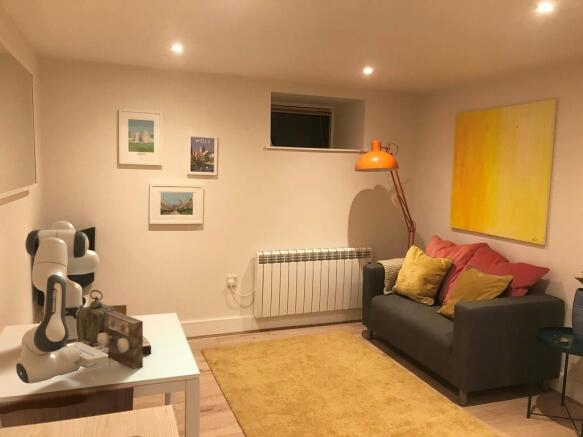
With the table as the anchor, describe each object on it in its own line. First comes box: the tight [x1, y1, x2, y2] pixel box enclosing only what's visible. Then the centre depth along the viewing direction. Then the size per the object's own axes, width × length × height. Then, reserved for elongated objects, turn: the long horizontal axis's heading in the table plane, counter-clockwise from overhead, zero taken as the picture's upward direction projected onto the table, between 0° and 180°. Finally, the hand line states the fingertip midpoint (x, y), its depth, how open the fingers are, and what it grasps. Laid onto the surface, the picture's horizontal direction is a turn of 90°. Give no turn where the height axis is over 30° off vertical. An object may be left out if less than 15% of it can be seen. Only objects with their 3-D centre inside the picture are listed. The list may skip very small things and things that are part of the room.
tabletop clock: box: [76, 289, 116, 347], centre depth 202 cm, size 14×9×25 cm, turn 66°
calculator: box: [143, 335, 152, 356], centre depth 202 cm, size 11×4×15 cm
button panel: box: [105, 310, 144, 371], centre depth 189 cm, size 4×20×18 cm, turn 51°
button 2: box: [117, 338, 130, 353], centre depth 185 cm, size 7×5×5 cm
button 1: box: [97, 332, 113, 347], centre depth 190 cm, size 7×5×5 cm
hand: (106, 349), depth 177 cm, fingers closed
